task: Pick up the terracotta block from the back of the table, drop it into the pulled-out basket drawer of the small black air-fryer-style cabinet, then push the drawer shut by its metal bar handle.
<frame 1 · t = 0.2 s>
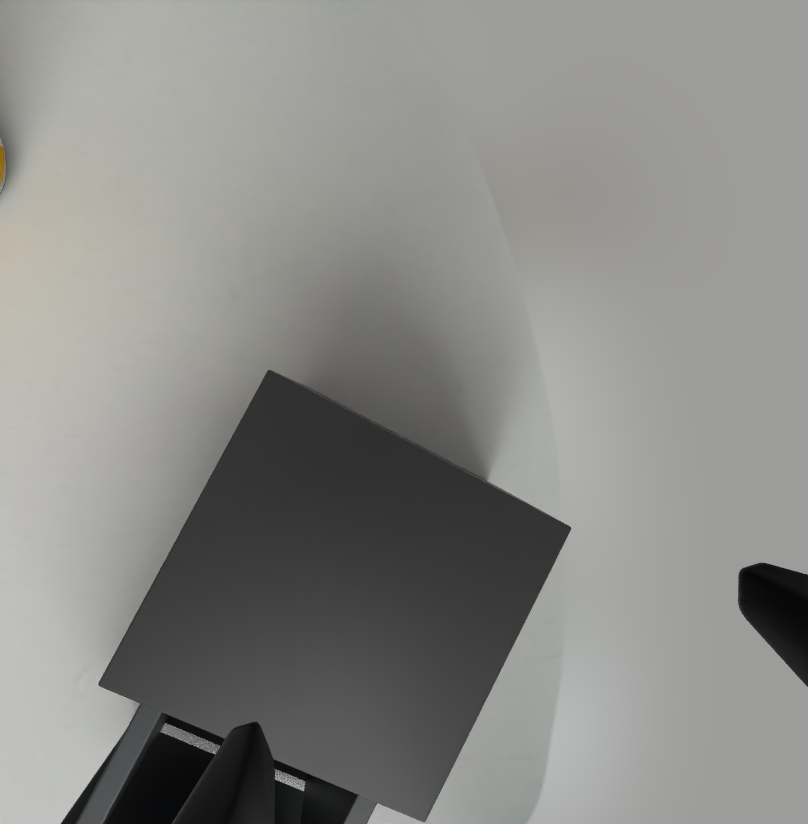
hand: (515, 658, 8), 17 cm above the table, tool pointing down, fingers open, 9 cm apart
drawer: (224, 794, 19), point 5 cm above the table, slide at 7.5 cm
cabinet: (350, 525, 24), on the table
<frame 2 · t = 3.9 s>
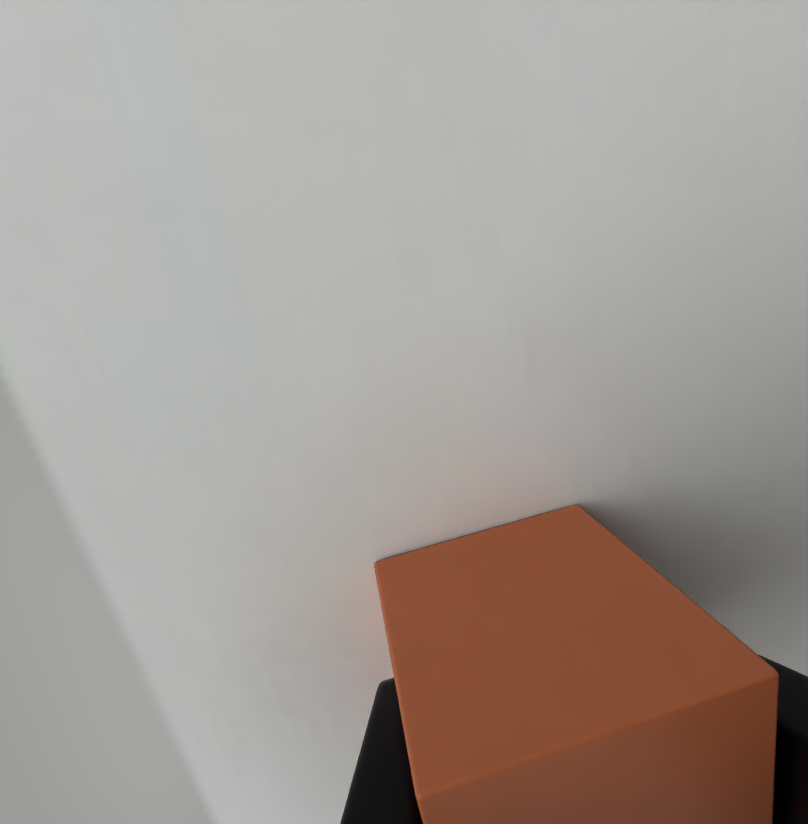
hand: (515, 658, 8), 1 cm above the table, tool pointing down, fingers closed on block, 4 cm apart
block: (493, 618, 9), on the table, touching gripper
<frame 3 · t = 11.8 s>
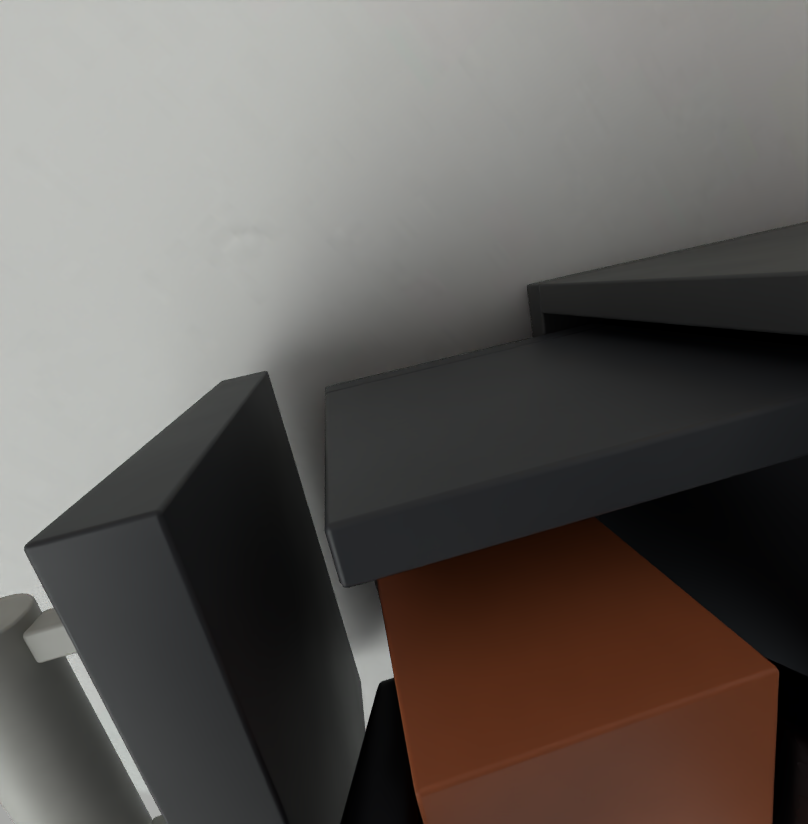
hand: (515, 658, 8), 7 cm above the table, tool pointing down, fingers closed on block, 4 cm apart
drawer: (398, 620, 9), point 5 cm above the table, slide at 7.5 cm
block: (493, 616, 9), point 6 cm above the table, touching gripper
cabinet: (700, 424, 15), on the table
when the fingers open (10 cm above the table, at t = 23.5 s): block drops 7 cm, resting on drawer.
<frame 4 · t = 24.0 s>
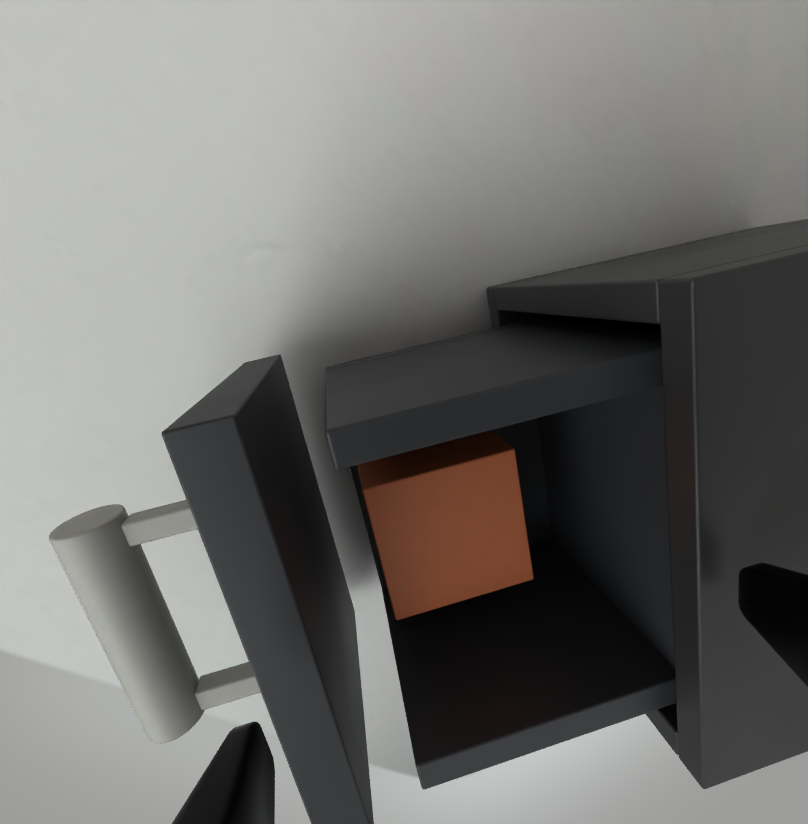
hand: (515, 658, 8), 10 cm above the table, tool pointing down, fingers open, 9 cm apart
drawer: (379, 536, 13), point 5 cm above the table, slide at 7.6 cm, touching block
block: (422, 478, 15), point 2 cm above the table, touching drawer
cabinet: (633, 402, 18), on the table
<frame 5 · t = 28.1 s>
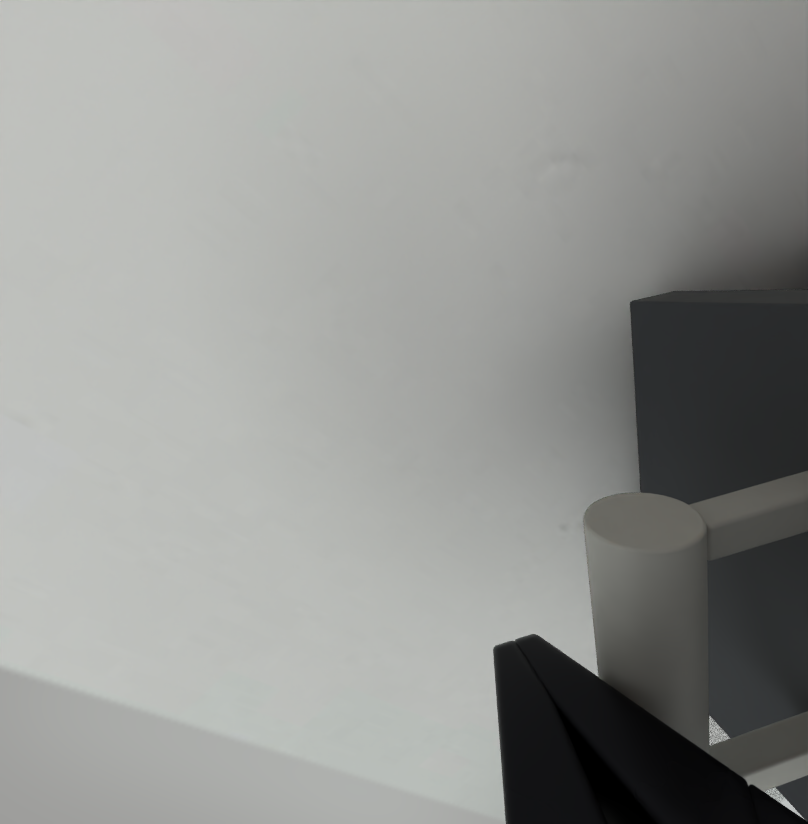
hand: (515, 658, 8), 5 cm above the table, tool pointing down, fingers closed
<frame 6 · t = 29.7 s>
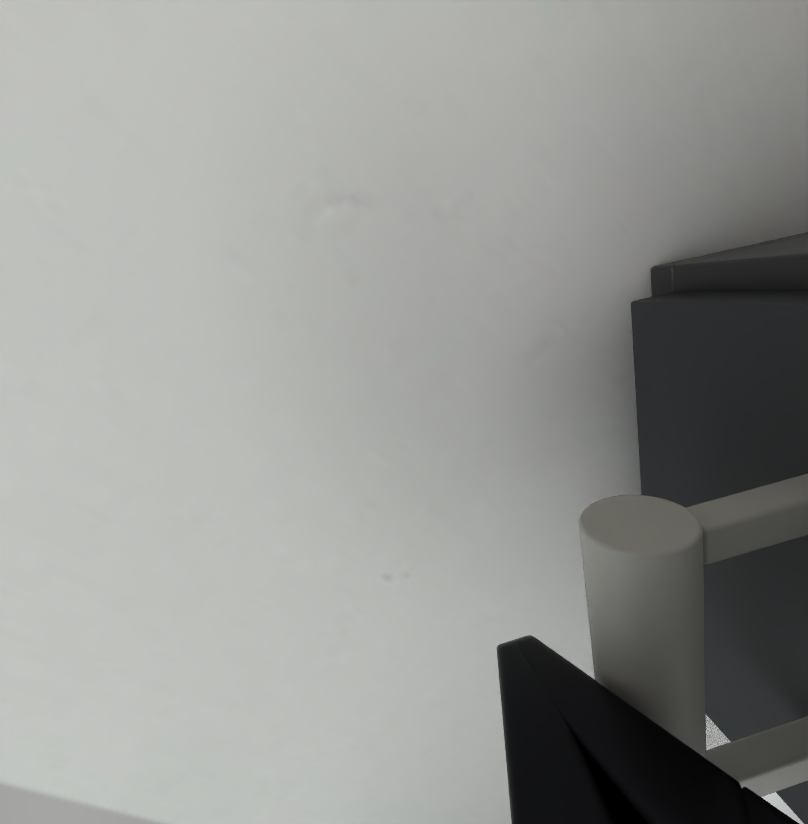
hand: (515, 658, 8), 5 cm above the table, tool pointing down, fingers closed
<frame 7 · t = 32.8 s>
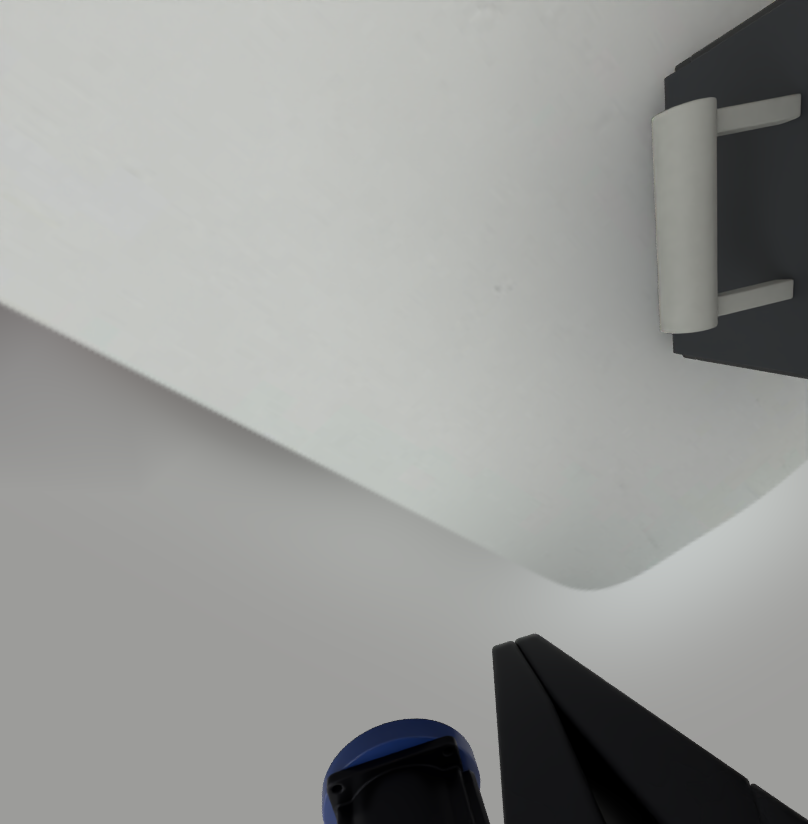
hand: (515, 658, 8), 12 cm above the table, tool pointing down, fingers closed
cabinet: (792, 199, 20), on the table
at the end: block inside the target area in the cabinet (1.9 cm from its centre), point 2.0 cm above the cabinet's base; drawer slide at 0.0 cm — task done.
